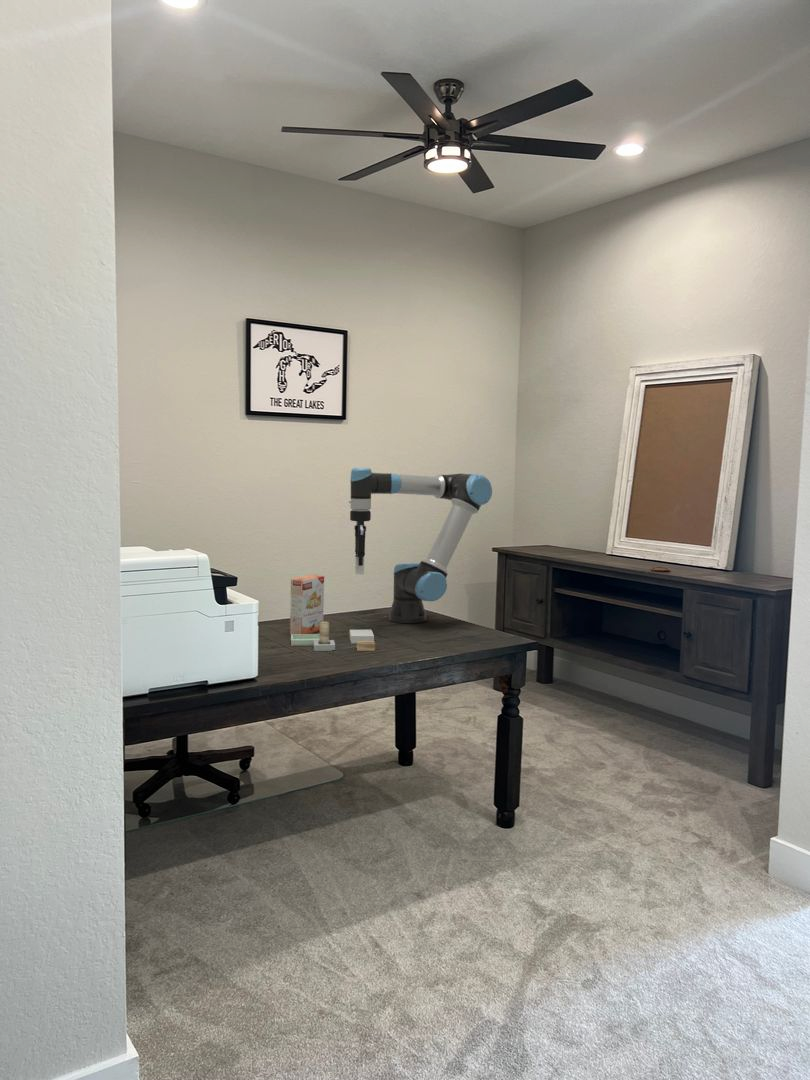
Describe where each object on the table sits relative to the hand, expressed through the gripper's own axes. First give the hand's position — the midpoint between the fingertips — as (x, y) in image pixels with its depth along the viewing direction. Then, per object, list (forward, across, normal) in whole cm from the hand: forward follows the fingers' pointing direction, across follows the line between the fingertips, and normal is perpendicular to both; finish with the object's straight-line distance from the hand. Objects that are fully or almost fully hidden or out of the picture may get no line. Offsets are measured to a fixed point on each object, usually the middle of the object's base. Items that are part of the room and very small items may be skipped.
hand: (359, 573), depth 288 cm
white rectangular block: (+23, +10, 0) cm, 25 cm away
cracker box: (+23, -2, -19) cm, 30 cm away
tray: (+23, +14, -19) cm, 32 cm away
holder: (+23, +22, -14) cm, 34 cm away
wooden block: (+23, +24, 0) cm, 33 cm away
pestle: (+23, +22, -14) cm, 34 cm away
